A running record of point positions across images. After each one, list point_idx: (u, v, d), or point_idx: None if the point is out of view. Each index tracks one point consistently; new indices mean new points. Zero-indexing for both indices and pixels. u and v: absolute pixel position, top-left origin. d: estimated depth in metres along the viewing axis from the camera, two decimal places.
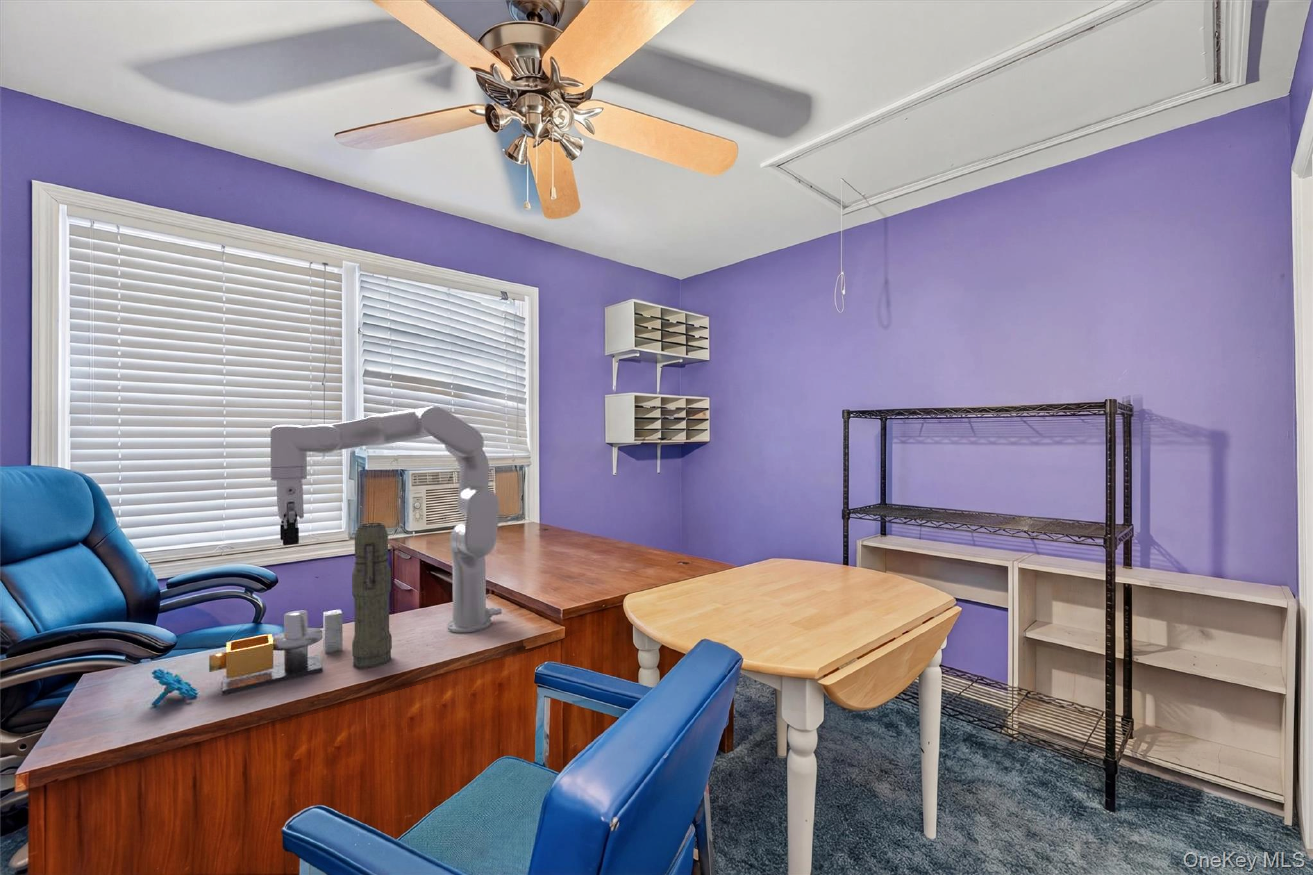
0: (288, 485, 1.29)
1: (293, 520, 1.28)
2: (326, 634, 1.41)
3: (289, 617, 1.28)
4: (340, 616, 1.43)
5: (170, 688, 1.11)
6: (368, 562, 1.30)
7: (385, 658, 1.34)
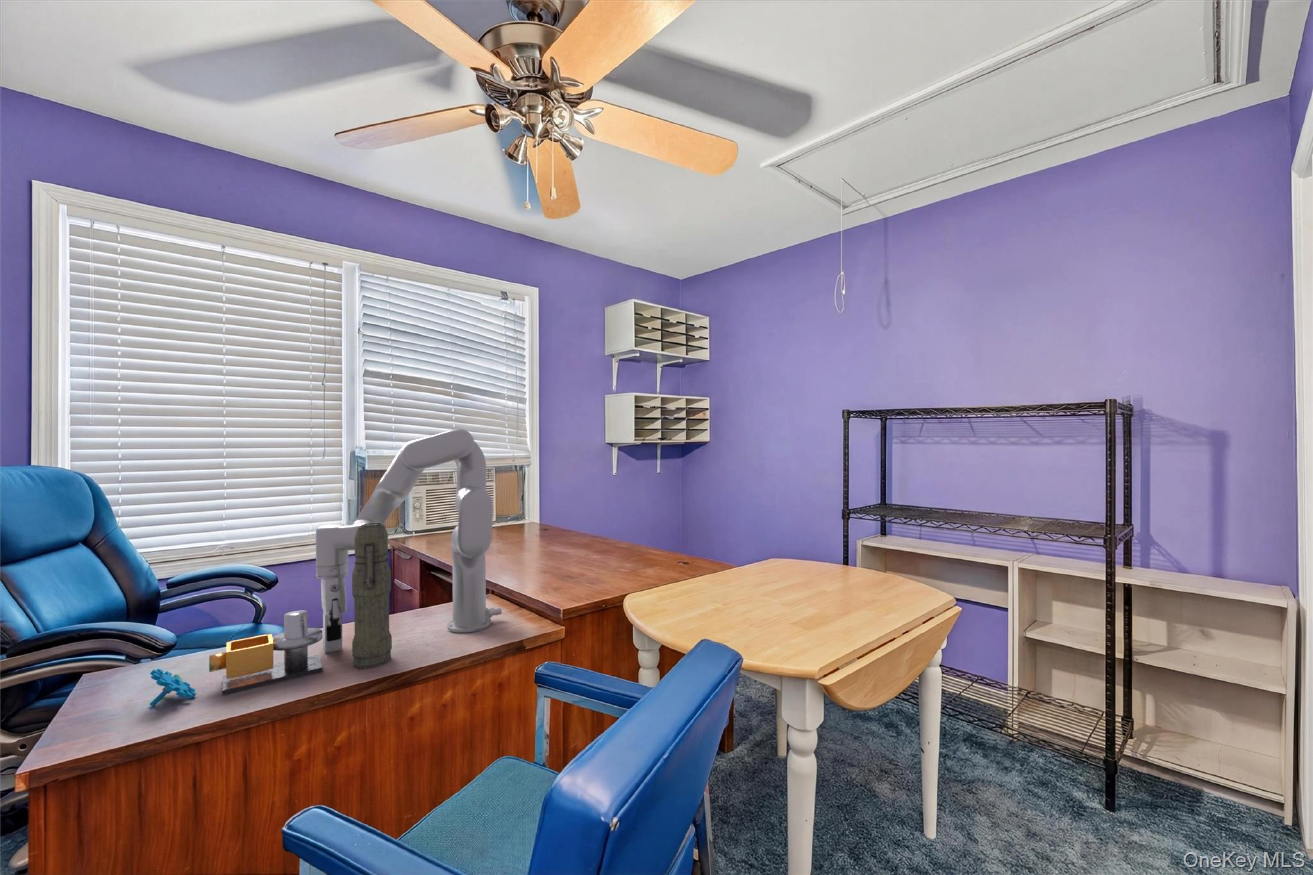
0: (333, 583, 1.40)
1: (337, 620, 1.40)
2: (326, 634, 1.41)
3: (289, 617, 1.28)
4: (340, 616, 1.43)
5: (167, 689, 1.11)
6: (368, 562, 1.30)
7: (385, 658, 1.34)
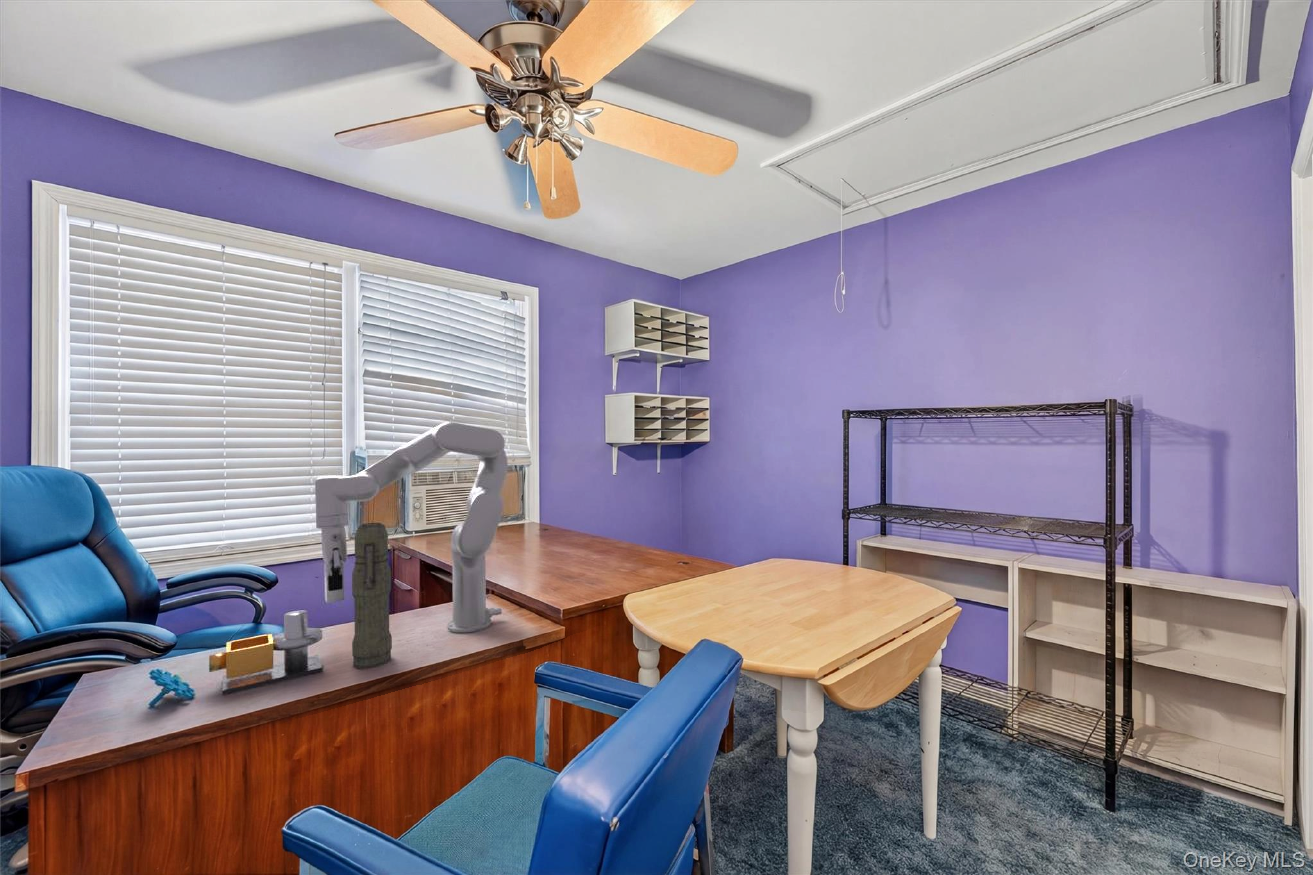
0: (333, 532, 1.40)
1: (338, 569, 1.40)
2: (327, 584, 1.41)
3: (289, 617, 1.28)
4: (341, 566, 1.43)
5: (166, 689, 1.11)
6: (368, 562, 1.30)
7: (385, 658, 1.34)
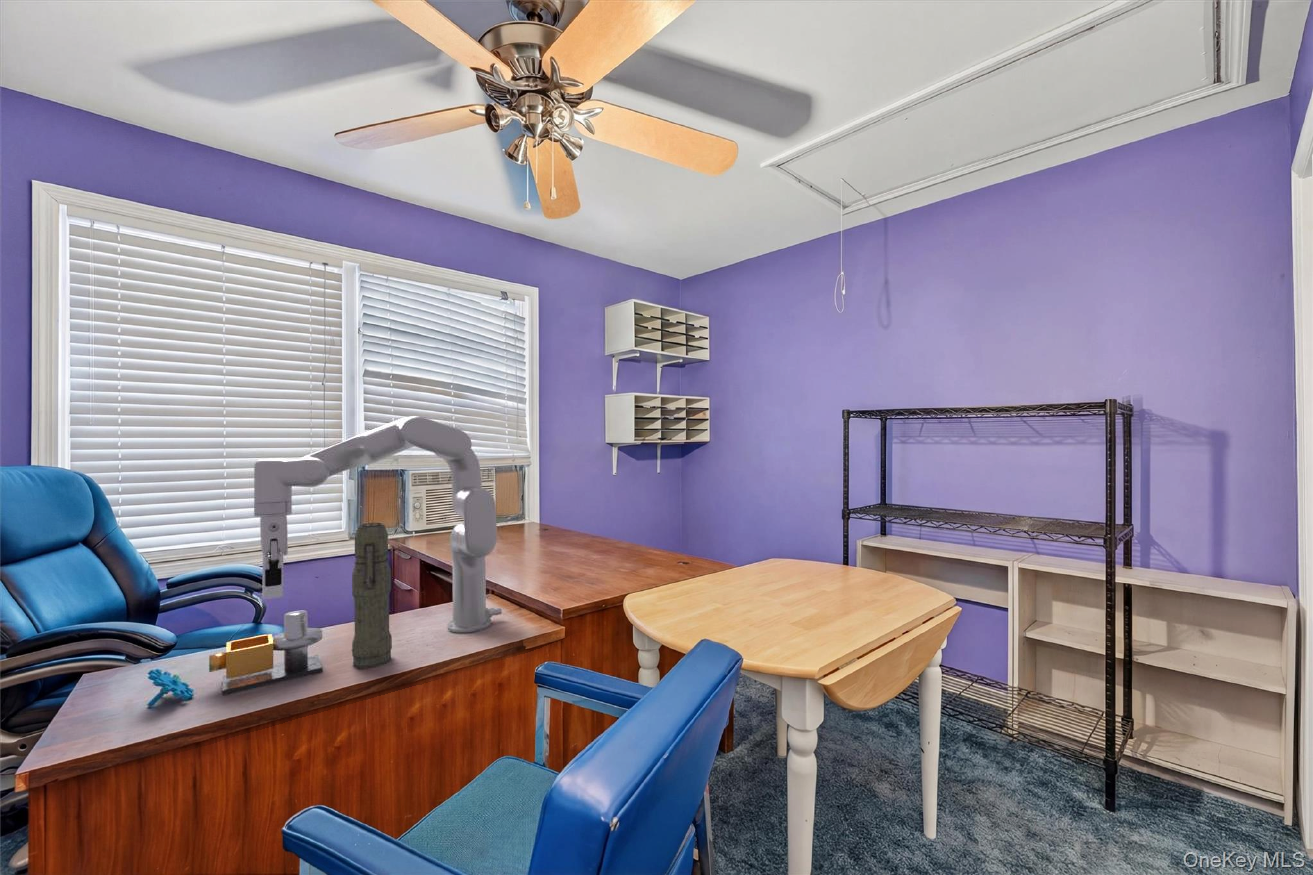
0: (271, 521, 1.26)
1: (276, 563, 1.26)
2: (264, 578, 1.27)
3: (289, 617, 1.28)
4: (281, 559, 1.29)
5: (163, 689, 1.11)
6: (368, 562, 1.30)
7: (385, 658, 1.34)
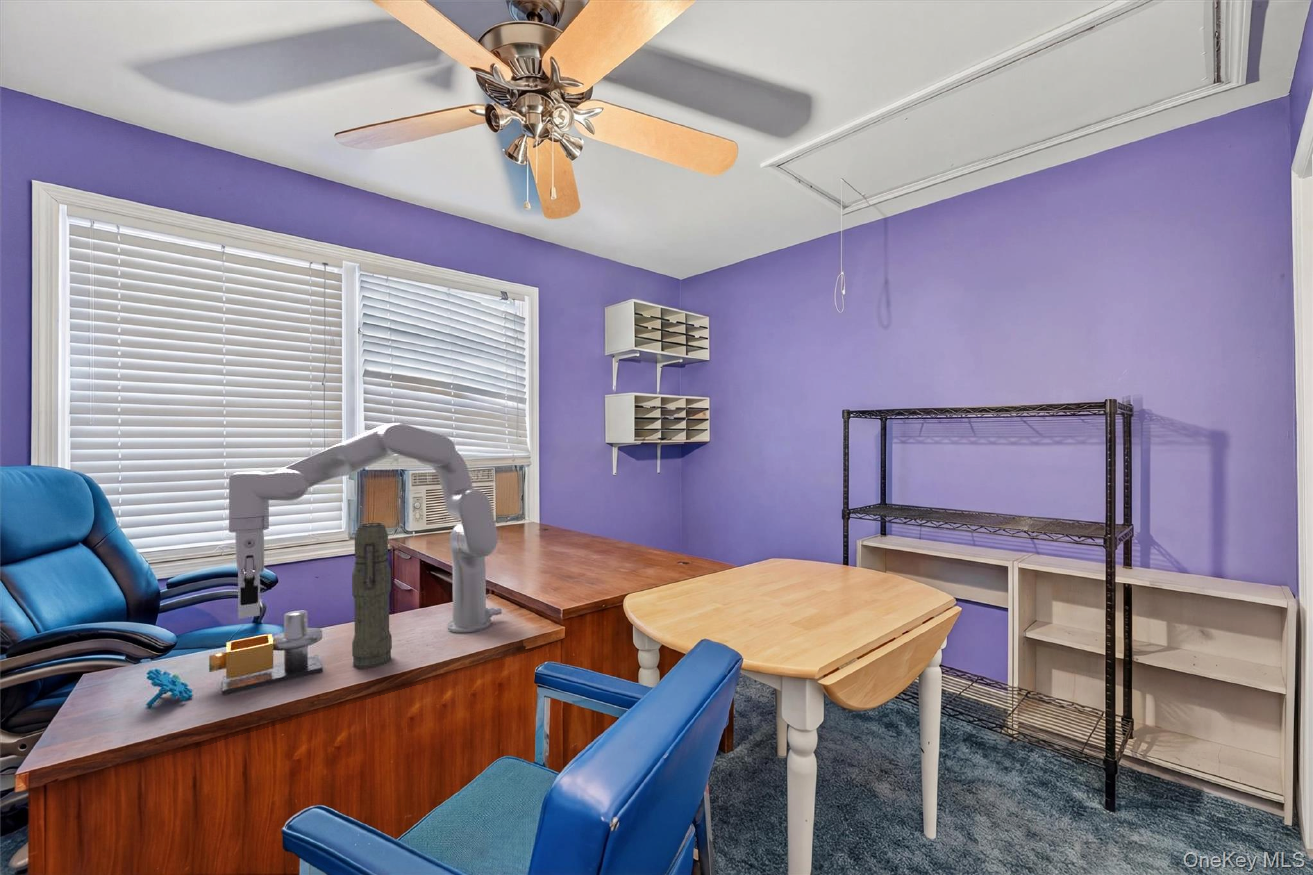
0: (247, 537, 1.21)
1: (251, 580, 1.21)
2: (239, 596, 1.22)
3: (289, 617, 1.28)
4: (257, 577, 1.24)
5: (162, 690, 1.11)
6: (368, 562, 1.30)
7: (385, 658, 1.34)
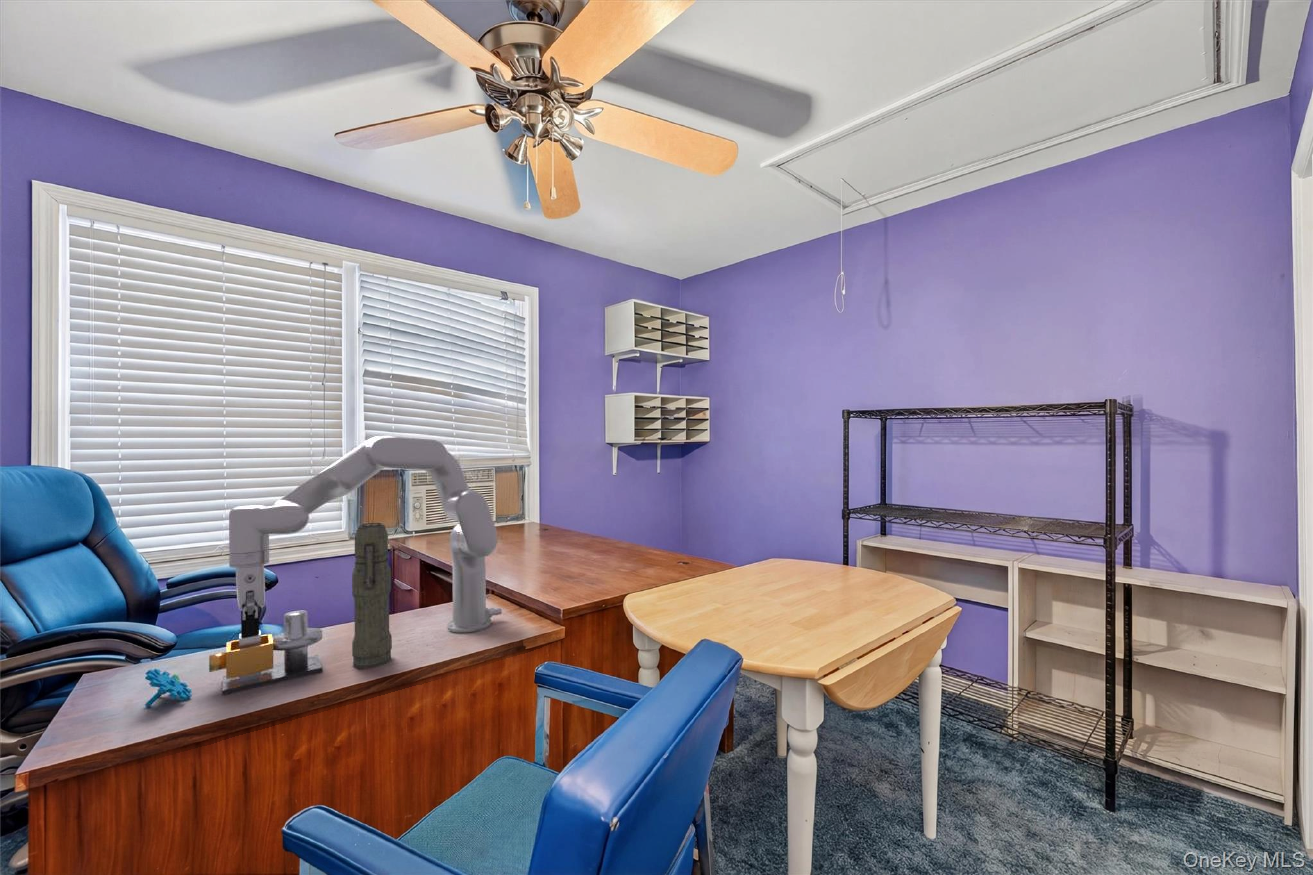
0: (247, 573, 1.21)
1: (252, 612, 1.19)
2: None
3: (289, 617, 1.28)
4: (258, 638, 1.24)
5: (160, 690, 1.11)
6: (368, 562, 1.30)
7: (385, 658, 1.34)
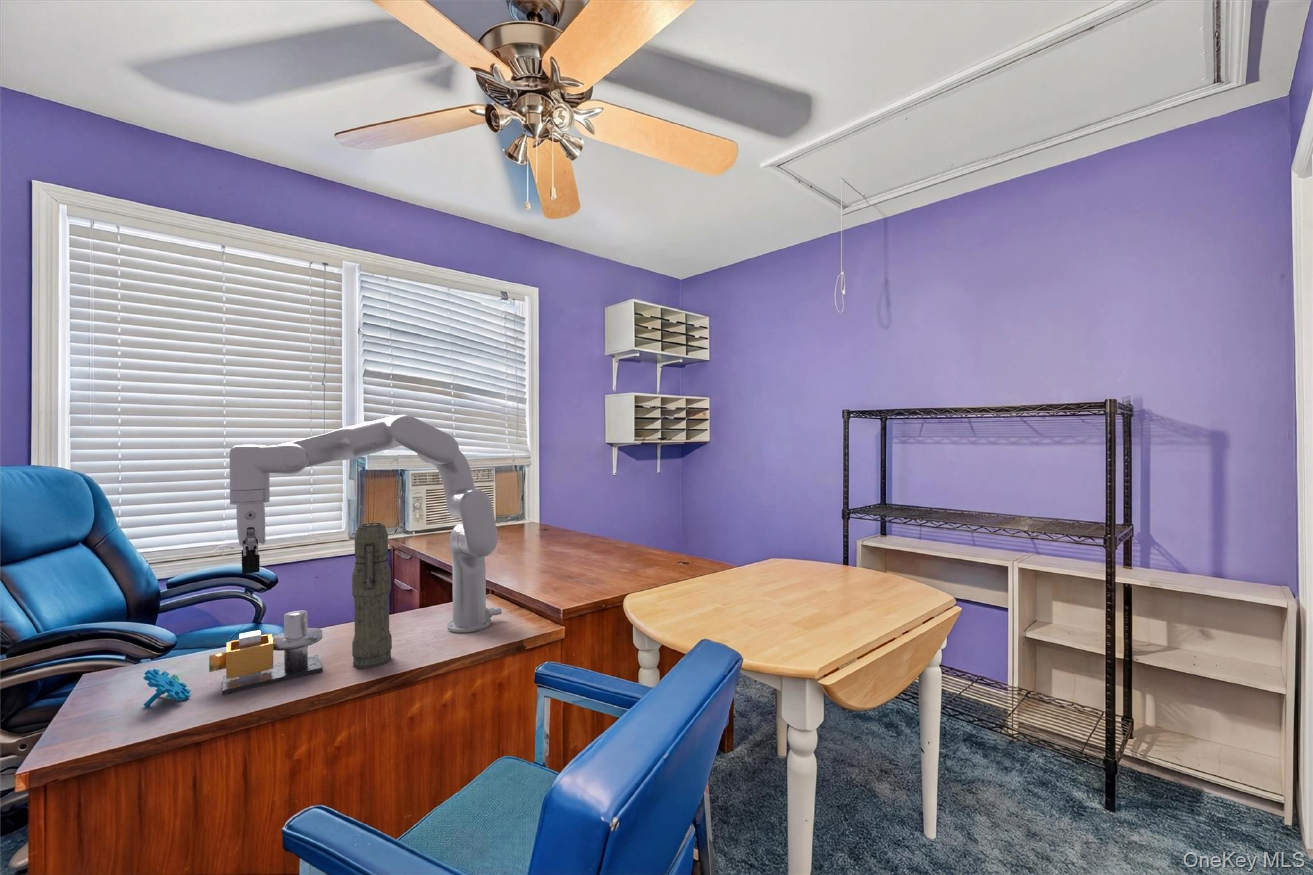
0: (248, 509, 1.22)
1: (253, 547, 1.20)
2: None
3: (289, 617, 1.28)
4: (258, 638, 1.24)
5: (157, 690, 1.10)
6: (368, 562, 1.30)
7: (385, 658, 1.34)
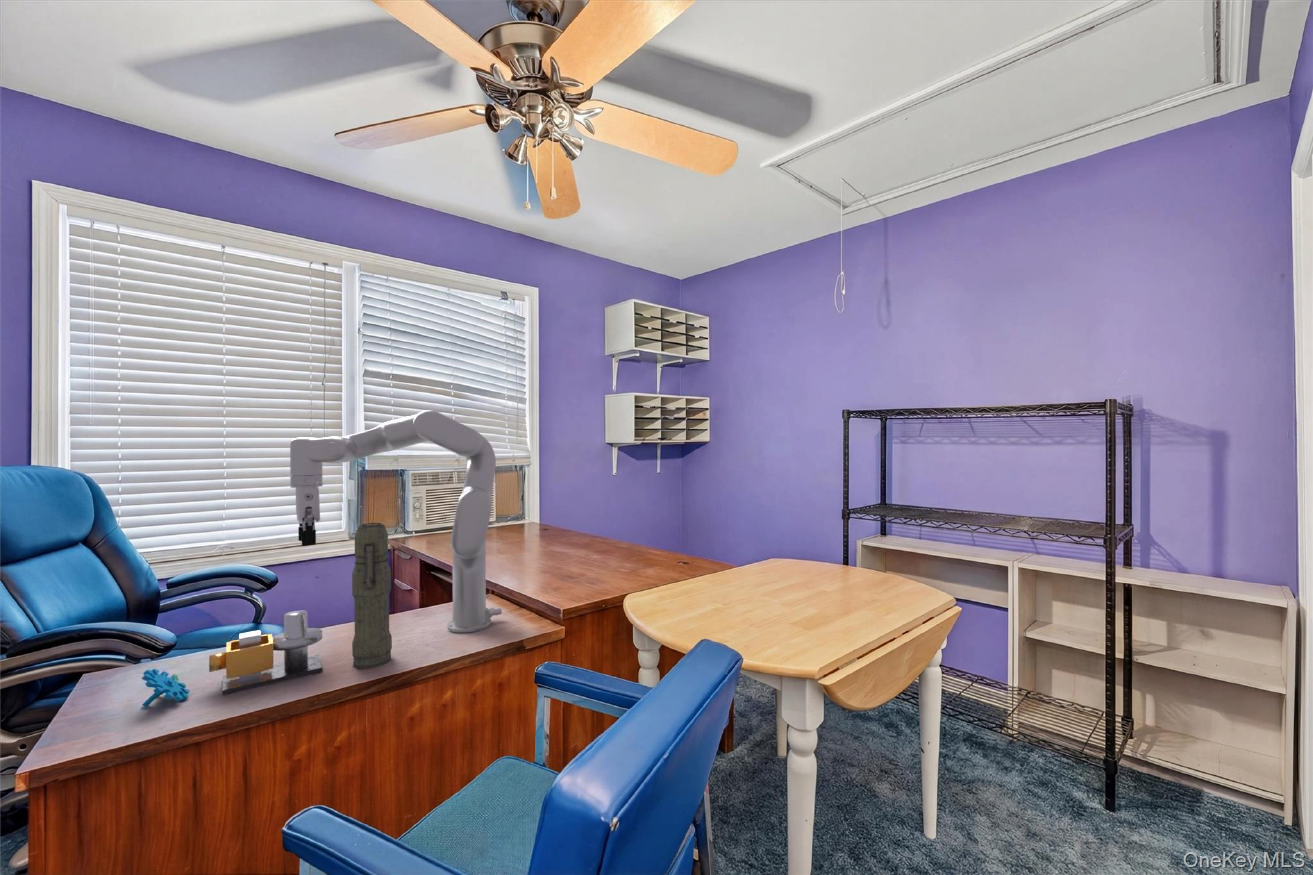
0: (306, 492, 1.44)
1: (311, 523, 1.42)
2: None
3: (289, 617, 1.28)
4: (258, 638, 1.24)
5: (155, 690, 1.10)
6: (368, 562, 1.30)
7: (385, 658, 1.34)
